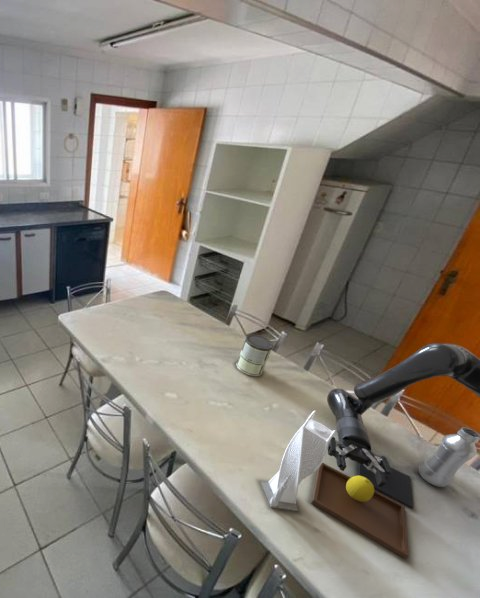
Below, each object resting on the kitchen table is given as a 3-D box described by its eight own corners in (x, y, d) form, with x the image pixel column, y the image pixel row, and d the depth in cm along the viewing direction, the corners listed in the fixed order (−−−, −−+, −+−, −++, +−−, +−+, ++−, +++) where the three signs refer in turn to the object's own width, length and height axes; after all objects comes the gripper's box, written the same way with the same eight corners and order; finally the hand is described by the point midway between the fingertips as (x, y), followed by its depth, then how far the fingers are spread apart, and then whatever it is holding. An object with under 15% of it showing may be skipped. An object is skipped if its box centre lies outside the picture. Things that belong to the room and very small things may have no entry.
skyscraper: (258, 477, 94) (295, 406, 81) (287, 481, 94) (329, 411, 81) (270, 507, 87) (313, 434, 74) (302, 512, 86) (350, 439, 73)
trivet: (408, 477, 98) (409, 476, 98) (411, 508, 89) (413, 507, 89) (359, 453, 104) (360, 452, 104) (358, 480, 96) (359, 478, 96)
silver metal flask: (439, 493, 94) (483, 446, 85) (410, 473, 99) (449, 426, 90) (449, 485, 96) (494, 439, 87) (421, 466, 102) (460, 420, 93)
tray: (401, 509, 89) (404, 505, 88) (405, 559, 78) (408, 556, 77) (318, 464, 100) (320, 461, 99) (311, 503, 89) (313, 499, 88)
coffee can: (233, 359, 145) (243, 332, 138) (257, 363, 143) (268, 336, 137) (239, 374, 136) (249, 346, 129) (265, 378, 134) (277, 350, 128)
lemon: (343, 484, 94) (356, 466, 90) (367, 498, 91) (381, 480, 87) (338, 496, 91) (352, 478, 87) (363, 512, 87) (377, 493, 84)
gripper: (330, 416, 104) (337, 454, 91) (387, 437, 98) (402, 481, 85) (321, 433, 107) (325, 472, 94) (374, 454, 101) (387, 498, 88)
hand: (362, 476), depth 90 cm, fingers open, 8 cm apart
